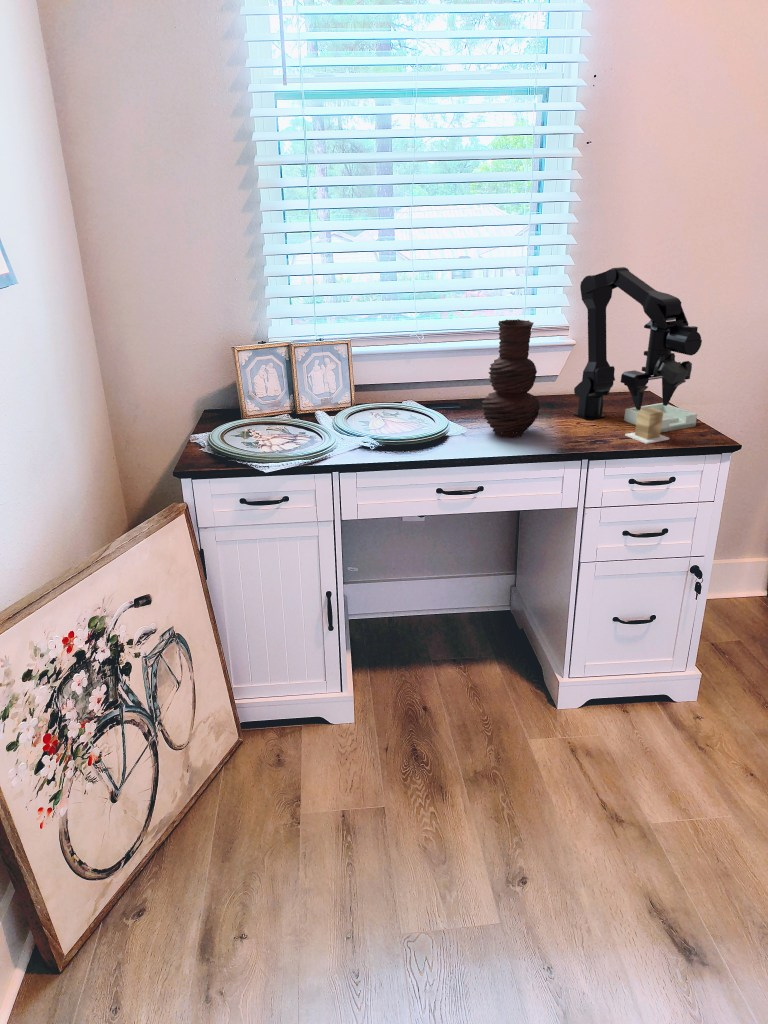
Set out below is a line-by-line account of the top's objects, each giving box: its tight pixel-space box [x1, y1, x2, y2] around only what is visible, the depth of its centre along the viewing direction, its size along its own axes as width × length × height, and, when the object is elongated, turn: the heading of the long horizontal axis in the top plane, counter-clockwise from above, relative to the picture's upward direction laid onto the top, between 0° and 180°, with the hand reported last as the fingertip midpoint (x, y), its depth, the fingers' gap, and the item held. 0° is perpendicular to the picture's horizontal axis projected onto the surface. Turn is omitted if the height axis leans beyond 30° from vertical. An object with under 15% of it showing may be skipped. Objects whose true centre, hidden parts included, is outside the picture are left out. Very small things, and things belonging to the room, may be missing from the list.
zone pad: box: [624, 431, 670, 445], centre depth 202 cm, size 8×8×1 cm
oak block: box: [634, 408, 663, 440], centre depth 201 cm, size 4×4×7 cm
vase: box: [481, 319, 541, 439], centre depth 201 cm, size 15×15×30 cm
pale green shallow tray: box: [623, 402, 698, 434], centre depth 213 cm, size 14×13×4 cm
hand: (651, 407), depth 199 cm, fingers open, 9 cm apart
